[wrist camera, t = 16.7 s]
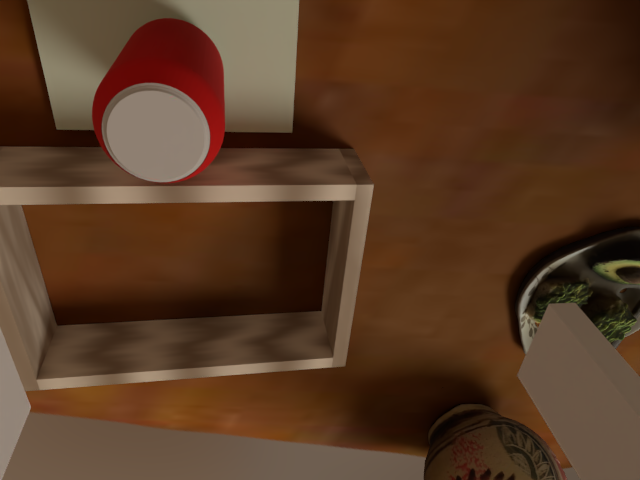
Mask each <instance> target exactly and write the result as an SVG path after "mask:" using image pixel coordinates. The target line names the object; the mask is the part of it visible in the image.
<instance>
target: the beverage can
mask: <svg viewBox="0 0 640 480" xmlns="http://www.w3.org/2000/svg"><path fill="white" fill-rule="evenodd" d="M92 121H93V127H94V131H95V134H96V137H97V139H98V141H99V144H100V145H101V147H102V149H103V150H104V152H105V153H106V155H107V156H108V157H109V158H110V159H111V160H112V161H113V162H114V163H115V164H116V165H117V166H118V167H120V168H121V169H122V170H124V171H125V172H127V173H128V174H130V175H132V176H134V177H136V178H139V179H142V180H145V181H149V182H154V183H175V182H180V181H184V180H187V179H189V178H192V177H194V176H195V175H197V174H199V173H200V172H202V171H203V170H204V169H205V168H207V167H208V166H209V165H210V163H211V162H212V161H213V160H214V158H215V157H216V156H217V154H218V152H219V150H220V148H221V145H222V142H223V139H224V133H225V100H224V68H223V63H222V59H221V56H220V53H219V51H218V49H217V47H216V46H215V44H214V43H213V41H212V40H211V39H210V38H209V37H208V35H207V34H205V33H204V32H203V31H202V30H201V29H199V28H198V27H196V26H195V25H193V24H191V23H189V22H186V21H183V20H179V19H174V18H162V19H156V20H153V21H150V22H148V23H146V24H144V25H143V26H141V27H140V28H138V29H137V30H136V31H135V32H134V33H133V35H132V36H131V37H130V39H129V40H128V42H127V43H126V45H125V46H124V48H123V49H122V51H121V52H120V54H119V55H118V57H117V58H116V60H115V61H114V63H113V64H112V66H111V67H110V69H109V71H108V72H107V74H106V75H105V77H104V78H103V80H102V81H101V83H100V84H99V86H98V88H97V91H96V93H95V96H94V100H93V106H92Z"/></svg>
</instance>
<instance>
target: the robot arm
mask: <svg viewBox="0 0 640 480" xmlns="http://www.w3.org/2000/svg"><path fill="white" fill-rule="evenodd" d="M517 376H518V378H519V379H520V381H521V383H522V384H523V386H524V388H525V389H526V391H527V392H528V394H529V396H530V397H531V399H532V401H533V402H534V404H535V406H536V407H537V409H538V411H539V412H540V414H541V416H542V417H543V419H544V420H545V422H546V424H547V425H548V427H549V429H550V430H551V432H552V434H553V435H554V437H555V439H556V440H557V442H558V444H559V445H560V447H561V448H562V450H563V452H564V453H565V455H566V457H567V458H568V460H569V462H570V463H571V465H572V467H573V468H574V470H575V471H576V473H577V475H578V476H579V478H580V480H640V377H639V376H638V375H637V373H636V372H635V371H634V370H633V369H632V368H631V367H630V365H629V364H628V363H627V362H626V361H625V360H624V358H623V357H622V356H621V355H620V354H619V353H618V352H617V350H616V349H615V348H614V347H613V346H612V345H611V343H610V342H609V341H608V340H607V339H606V338H605V337H604V335H603V334H602V333H601V332H600V331H599V330H598V328H597V327H596V326H595V325H594V324H593V323H592V322H591V320H590V319H589V318H588V317H587V316H586V315H585V313H584V312H583V311H582V310H581V309H580V308H579V307H578V305H577V304H576V303H557V304H549V305H548V307H547V309H546V311H545V314H544V316H543V318H542V320H541V323H540V325H539V327H538V329H537V332H536V334H535V336H534V338H533V341H532V343H531V345H530V347H529V350H528V352H527V354H526V356H525V359H524V361H523V363H522V365H521V368H520V370H519V372H518V374H517ZM30 409H31V406H30V403H29V401H28V398H27V396H26V393H25V390H24V388H23V385H22V383H21V380H20V377H19V375H18V372H17V370H16V367H15V364H14V362H13V359H12V357H11V354H10V351H9V349H8V346H7V344H6V341H5V338H4V336H3V333H2V331H1V328H0V480H2V478H3V475H4V472H5V470H6V468H7V465H8V463H9V460H10V458H11V456H12V453H13V450H14V448H15V446H16V443H17V441H18V438H19V436H20V433H21V431H22V428H23V426H24V424H25V421H26V419H27V416H28V414H29V411H30Z"/></svg>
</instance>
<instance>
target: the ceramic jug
mask: <svg viewBox="0 0 640 480" xmlns="http://www.w3.org/2000/svg"><path fill="white" fill-rule="evenodd" d="M442 388H443V387H442ZM428 441H429V445H430V448H429V451H428V454H427V457H426V460H425V469H424V480H567V478H566V476H565V473H564V471H563V470H562V468H561V466H560V463H559V461H558V460H557V458H556V456H555V454H554V453H553V452H552V450H551V449H550V447H549V446H548V445H547V443H546V442H545V441H544V440H543V439H542V438H541V437H540V436H539V435H537V434H536V433H535V432H534V431H533V430H531V429H529V428H528V427H526V426H525V425H523V424H521V423H519V422H517V421H515V420H512V419H509V418H505V417H502V416H501V415H500V414H498V413H497V412H495V411H494V410H492V408H491V407H488V406H485V405H481V404H461V405H459V406H456V407H455V408H453V409H452V410H451V411H449V412H447V413H446V414H444V415H443V416H441V417H440V418H439V419H438V420H437V421H436V422H435V423H434V424H433V426H432V427H431V428H430V429H429V432H428Z"/></svg>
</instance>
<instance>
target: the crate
mask: <svg viewBox="0 0 640 480" xmlns="http://www.w3.org/2000/svg"><path fill="white" fill-rule="evenodd" d="M373 187H374V184H373V182H372V180H371V179H370V177H369V175H368V173H367V171H366V170H365V168H364V166H363V164H362V162H361V161H360V159H359V157H358V155H357V153H356V152H355V150H354V149H300V148H220V150H219V152H218V154H217V156H216V157H215V158H214V160H213V161H212V162H211V163H210V165H209V166H208V167H207V168H205V169H204V170H203V171H202V172H200V173H199V174H197V175H195V176H194V177H192V178H189V179H187V180H184V181H180V182H175V183H154V182H149V181H145V180H142V179H139V178H136V177H134V176H132V175H130V174H128V173H127V172H125V171H124V170H122V169H121V168H120V167H118V166H117V165H116V164H115V163H114V162H113V161H112V160H111V159H110V158H109V157H108V156H107V155H106V153H105V152H104V150H103V149H102V147H10V146H0V328H1V331H2V333H3V336H4V338H5V341H6V344H7V346H8V349H9V351H10V354H11V357H12V359H13V362H14V364H15V367H16V370H17V372H18V375H19V377H20V380H21V383H22V385H23V388H24V390H25V391H33V390H46V389H59V388H72V387H85V386H97V385H110V384H123V383H136V382H149V381H162V380H175V379H188V378H200V377H213V376H226V375H239V374H252V373H265V372H278V371H291V370H303V369H316V368H329V367H342V366H345V364H346V358H347V351H348V345H349V339H350V332H351V326H352V320H353V313H354V307H355V301H356V294H357V288H358V282H359V275H360V269H361V263H362V257H363V250H364V244H365V238H366V231H367V225H368V219H369V212H370V206H371V200H372V193H373ZM262 201H333V209H332V218H331V227H330V236H329V245H328V255H327V264H326V273H325V282H324V291H323V300H322V309H321V311H312V312H294V313H276V314H258V315H240V316H222V317H204V318H186V319H168V320H150V321H132V322H115V323H97V324H79V325H61V326H57V324H56V320H55V317H54V313H53V310H52V307H51V303H50V300H49V297H48V293H47V290H46V287H45V283H44V280H43V276H42V273H41V270H40V266H39V263H38V260H37V256H36V253H35V250H34V246H33V243H32V239H31V236H30V233H29V229H28V226H27V223H26V219H25V216H24V213H23V209H22V206H21V205H34V204H110V203H186V202H262Z"/></svg>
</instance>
